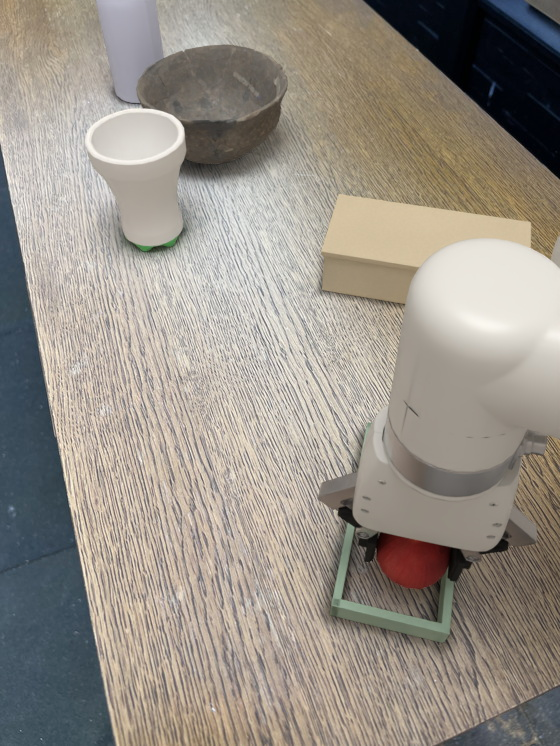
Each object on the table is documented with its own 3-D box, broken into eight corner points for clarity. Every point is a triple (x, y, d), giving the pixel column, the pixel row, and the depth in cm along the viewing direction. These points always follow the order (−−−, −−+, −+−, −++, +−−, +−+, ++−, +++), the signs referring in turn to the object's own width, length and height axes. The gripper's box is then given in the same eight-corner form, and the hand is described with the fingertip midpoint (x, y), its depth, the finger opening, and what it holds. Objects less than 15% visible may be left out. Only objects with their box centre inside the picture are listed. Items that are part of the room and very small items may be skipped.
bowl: (197, 95, 104) (190, 31, 97) (311, 128, 98) (314, 63, 90) (118, 162, 93) (103, 96, 85) (242, 204, 87) (238, 137, 79)
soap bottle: (124, 73, 109) (90, -95, 90) (176, 80, 107) (153, -89, 88) (102, 99, 104) (61, -73, 85) (156, 107, 102) (127, -66, 83)
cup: (147, 276, 79) (125, 176, 68) (93, 234, 84) (63, 135, 72) (216, 232, 84) (205, 132, 73) (160, 195, 88) (142, 96, 77)
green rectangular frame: (460, 454, 63) (466, 441, 61) (443, 643, 52) (449, 634, 50) (364, 435, 65) (367, 421, 63) (329, 615, 54) (331, 605, 52)
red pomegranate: (405, 522, 57) (416, 478, 51) (457, 569, 54) (476, 529, 48) (358, 565, 55) (365, 524, 48) (410, 617, 52) (424, 581, 46)
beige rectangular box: (515, 262, 80) (531, 221, 75) (513, 324, 74) (530, 284, 69) (335, 234, 83) (338, 193, 78) (318, 291, 77) (321, 251, 72)
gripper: (602, 407, 39) (523, 534, 53) (318, 359, 42) (316, 492, 56) (609, 520, 34) (521, 626, 48) (291, 458, 37) (296, 575, 51)
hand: (411, 553), depth 52 cm, fingers closed on red pomegranate, 5 cm apart
